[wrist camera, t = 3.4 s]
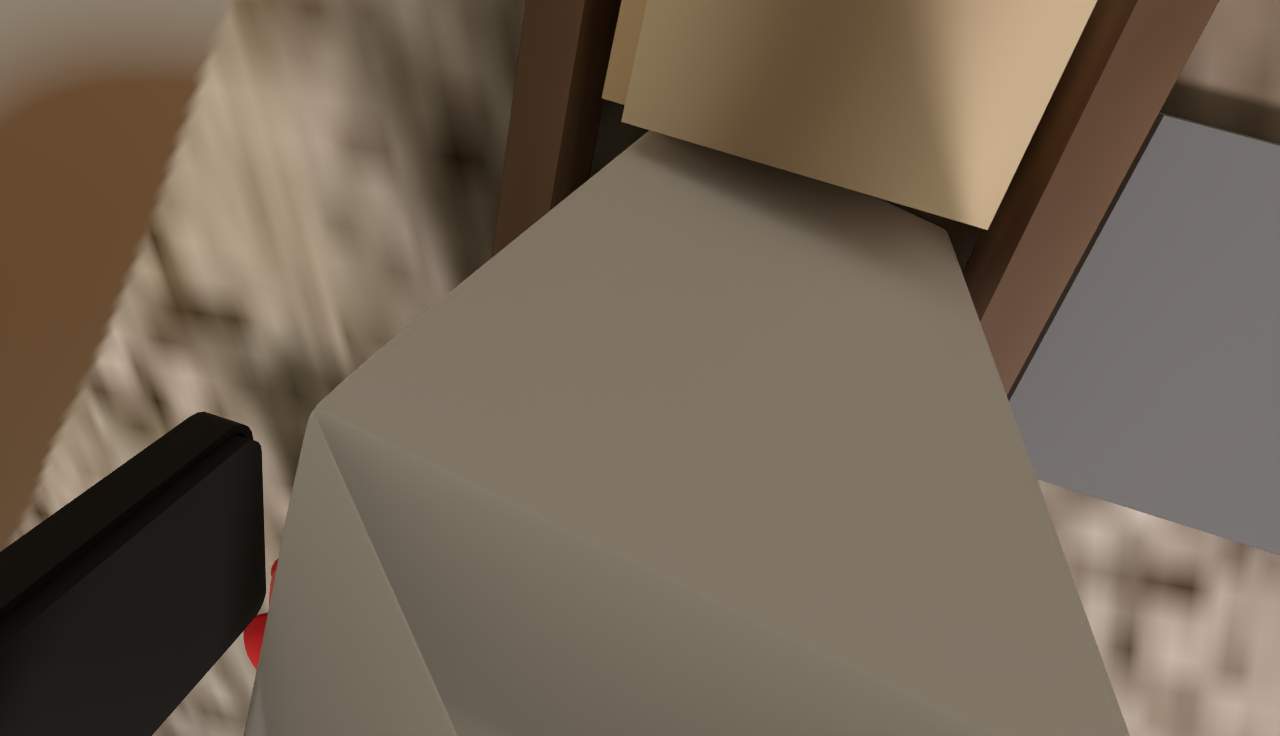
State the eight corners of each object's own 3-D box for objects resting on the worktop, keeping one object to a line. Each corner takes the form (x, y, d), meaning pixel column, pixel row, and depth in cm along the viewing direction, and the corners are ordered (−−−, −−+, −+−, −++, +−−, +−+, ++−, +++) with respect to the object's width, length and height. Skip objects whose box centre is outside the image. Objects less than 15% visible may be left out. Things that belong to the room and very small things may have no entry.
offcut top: (1068, -5, 13) (1098, -1, 11) (973, 202, 15) (987, 230, 13) (692, -104, 14) (672, -114, 12) (644, 106, 15) (621, 122, 14)
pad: (1611, 230, 16) (1636, 239, 15) (1322, 556, 20) (1334, 572, 20) (1154, 110, 17) (1164, 115, 16) (974, 448, 21) (977, 460, 20)
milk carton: (949, 227, 19) (1672, 2147, 2) (809, 446, 22) (690, 1810, 6) (679, 101, 19) (-500, 1029, 2) (583, 339, 22) (-157, 1369, 6)
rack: (1171, -31, 15) (1494, -28, 8) (889, 532, 23) (909, 825, 15) (598, -171, 17) (377, -289, 9) (506, 406, 24) (340, 617, 16)
